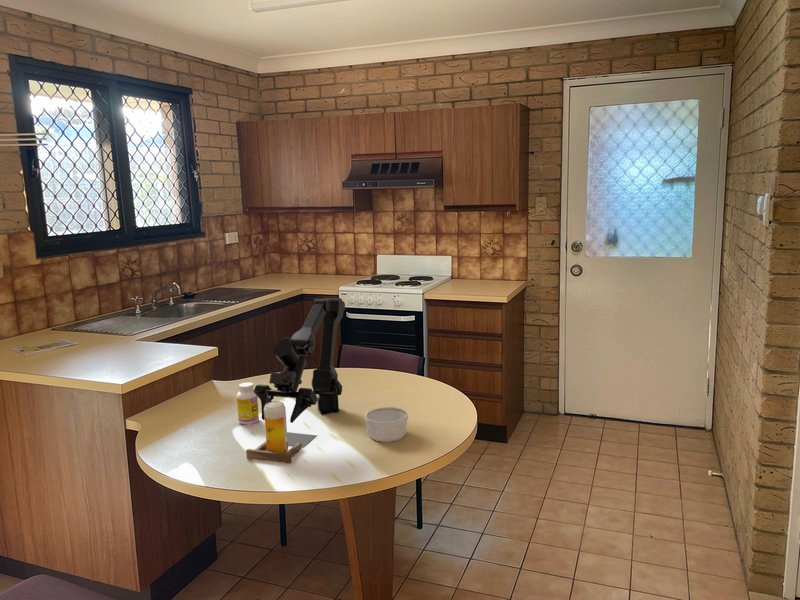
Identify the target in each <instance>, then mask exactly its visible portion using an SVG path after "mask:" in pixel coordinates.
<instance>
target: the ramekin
mask: <svg viewBox="0 0 800 600" xmlns="http://www.w3.org/2000/svg"><path fill="white" fill-rule="evenodd" d="M408 419H409V413H408V411H407V410H405V409H403V408H401V407H395V406H384V407H383V406H381V407H377V408H373V409H370V410H368V411H367V412H366V413H365V415H364V421H365V423H366V424H365V425H366V430H367V434H368V436H369V438H371V440H373V441H375V440H376V442H379V441H381V443H392V441H393V442H397V441H399V440H401V439H403V438H404V436H405V435H406V434H407V426H408Z"/></svg>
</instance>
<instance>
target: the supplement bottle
mask: <svg viewBox="0 0 800 600" xmlns="http://www.w3.org/2000/svg"><path fill="white" fill-rule="evenodd" d="M254 388H255V385H254V383H253V382H242V383H240V384H238V389H239V391H238V392H237V393H236V406H237V407H236V408H237V418H238V419H237V421H238V422H239V424H241V425H252V424H253V425H254V424H255V423H257V422H259V420H260V415H259V403H258V402H259V401H258V399H259V398H258V396H257V395H256V394H255V393H254V392H253V391H254Z"/></svg>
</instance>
